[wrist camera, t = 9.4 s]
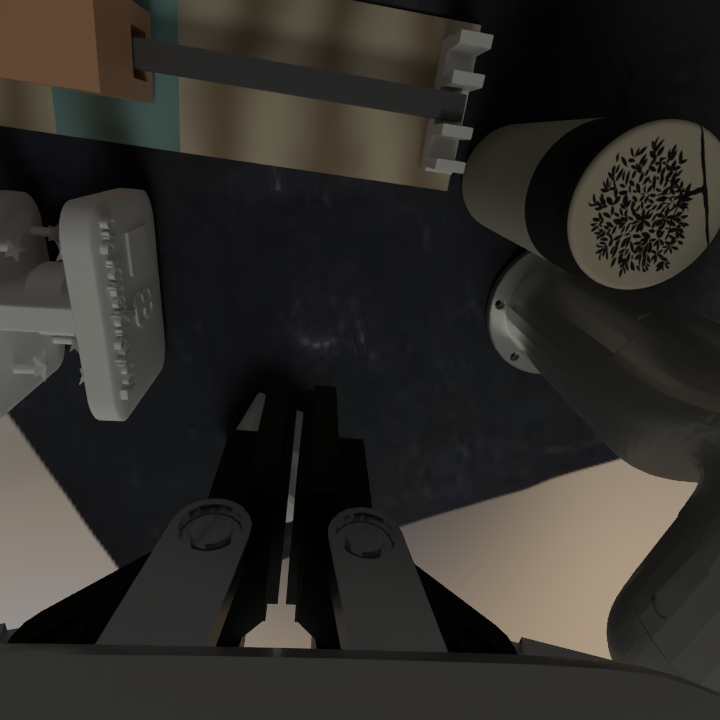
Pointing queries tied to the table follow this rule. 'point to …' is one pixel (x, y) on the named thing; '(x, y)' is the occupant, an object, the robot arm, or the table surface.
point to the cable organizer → (81, 298)
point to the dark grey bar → (295, 80)
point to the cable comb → (457, 79)
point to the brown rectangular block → (75, 46)
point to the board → (263, 108)
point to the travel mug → (600, 194)
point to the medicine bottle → (252, 424)
